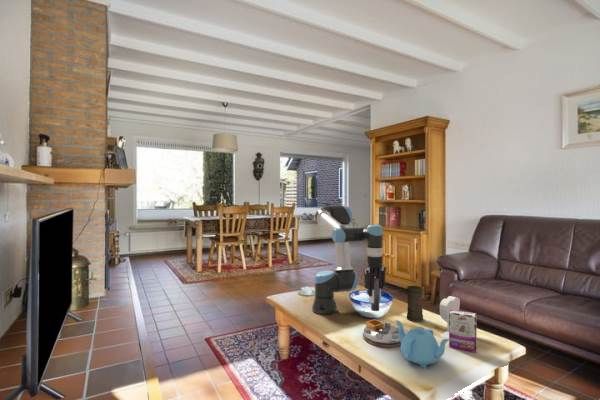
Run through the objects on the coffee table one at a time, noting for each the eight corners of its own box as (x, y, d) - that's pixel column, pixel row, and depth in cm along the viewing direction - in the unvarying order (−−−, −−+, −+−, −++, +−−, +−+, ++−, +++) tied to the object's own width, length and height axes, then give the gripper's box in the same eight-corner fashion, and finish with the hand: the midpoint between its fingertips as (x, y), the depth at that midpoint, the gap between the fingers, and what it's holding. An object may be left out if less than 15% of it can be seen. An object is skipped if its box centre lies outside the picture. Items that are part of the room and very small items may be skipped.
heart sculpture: (451, 327, 173) (451, 293, 173) (461, 330, 170) (461, 296, 169) (437, 336, 163) (438, 300, 163) (448, 339, 159) (448, 302, 159)
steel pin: (369, 309, 167) (369, 278, 166) (375, 307, 169) (375, 277, 168) (374, 311, 163) (374, 279, 163) (380, 310, 165) (380, 278, 165)
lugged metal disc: (412, 338, 158) (412, 329, 158) (383, 348, 148) (383, 338, 148) (383, 325, 174) (383, 316, 174) (356, 332, 165) (356, 323, 164)
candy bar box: (476, 348, 150) (476, 313, 150) (476, 353, 146) (476, 316, 145) (450, 343, 156) (450, 308, 155) (448, 347, 151) (448, 312, 151)
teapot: (395, 349, 149) (395, 319, 149) (441, 353, 146) (441, 322, 145) (399, 368, 133) (399, 334, 133) (450, 373, 130) (450, 338, 129)
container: (424, 322, 180) (424, 290, 180) (407, 321, 182) (407, 289, 182) (422, 316, 189) (422, 285, 189) (405, 315, 191) (405, 284, 190)
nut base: (354, 335, 165) (354, 333, 165) (383, 326, 175) (383, 325, 175) (383, 351, 147) (383, 349, 147) (413, 341, 157) (413, 339, 157)
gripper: (367, 258, 158) (367, 306, 158) (392, 255, 166) (392, 300, 167) (357, 256, 164) (357, 302, 165) (382, 252, 173) (382, 296, 173)
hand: (375, 301), depth 166 cm, fingers closed on steel pin, 4 cm apart
